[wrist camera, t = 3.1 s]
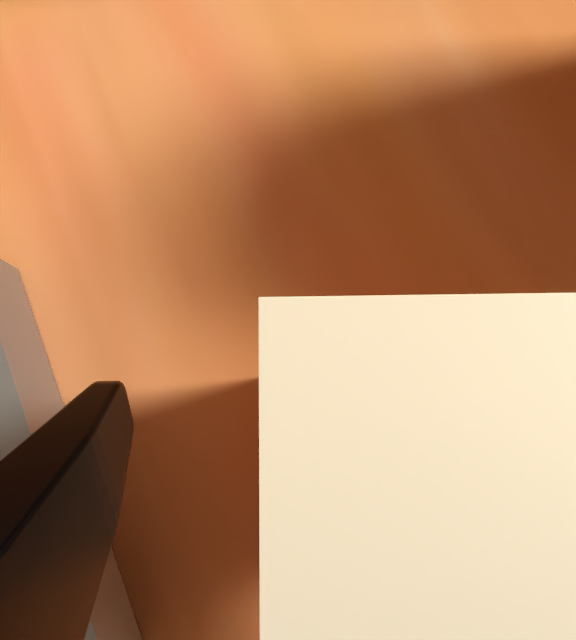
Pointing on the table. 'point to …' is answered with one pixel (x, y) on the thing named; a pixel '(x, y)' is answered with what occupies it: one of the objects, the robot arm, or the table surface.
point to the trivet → (31, 413)
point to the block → (417, 467)
